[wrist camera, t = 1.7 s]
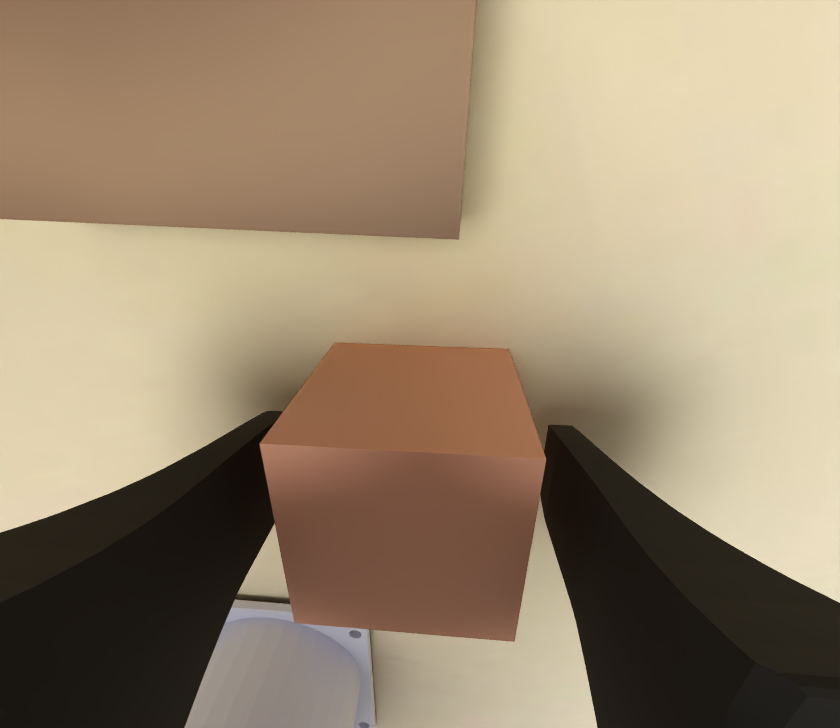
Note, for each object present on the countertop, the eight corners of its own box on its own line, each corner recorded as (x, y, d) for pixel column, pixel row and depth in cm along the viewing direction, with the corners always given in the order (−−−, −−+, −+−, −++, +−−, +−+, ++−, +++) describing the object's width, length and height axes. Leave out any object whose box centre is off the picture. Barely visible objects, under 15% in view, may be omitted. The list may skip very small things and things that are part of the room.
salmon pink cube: (493, 485, 13) (514, 641, 9) (347, 476, 14) (294, 622, 9) (508, 348, 11) (545, 458, 7) (335, 341, 12) (259, 443, 7)
